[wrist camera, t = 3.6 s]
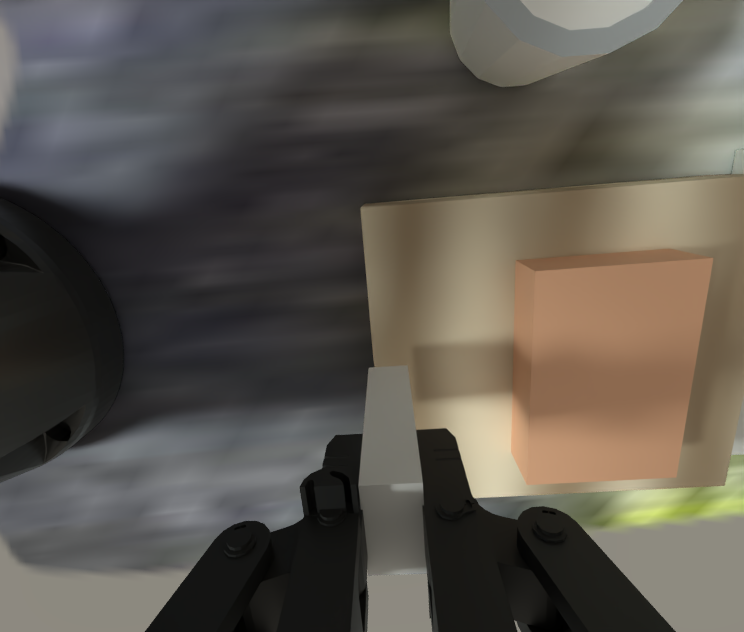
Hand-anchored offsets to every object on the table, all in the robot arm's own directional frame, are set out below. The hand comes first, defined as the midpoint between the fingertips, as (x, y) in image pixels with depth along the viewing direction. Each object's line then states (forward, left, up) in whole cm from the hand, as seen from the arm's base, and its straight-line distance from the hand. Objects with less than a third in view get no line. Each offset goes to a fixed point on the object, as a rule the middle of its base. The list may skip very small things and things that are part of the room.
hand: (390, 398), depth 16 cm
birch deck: (+7, 0, -6) cm, 10 cm away
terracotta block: (+8, 0, -2) cm, 9 cm away
